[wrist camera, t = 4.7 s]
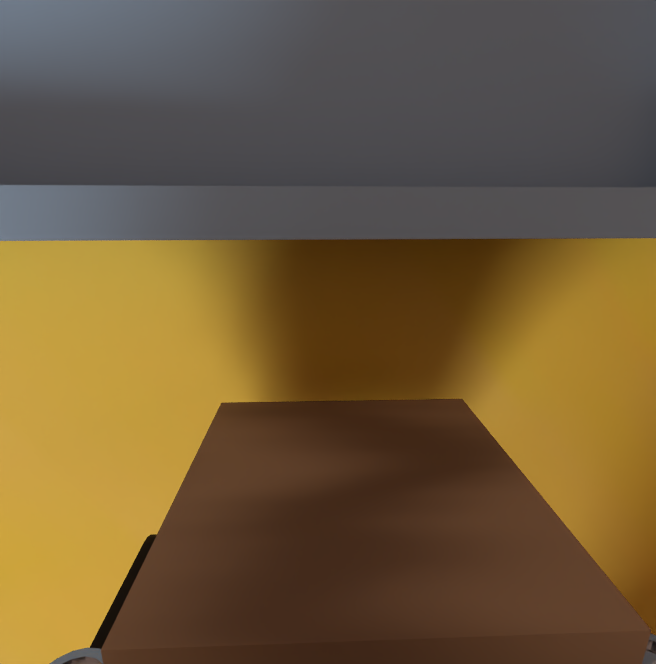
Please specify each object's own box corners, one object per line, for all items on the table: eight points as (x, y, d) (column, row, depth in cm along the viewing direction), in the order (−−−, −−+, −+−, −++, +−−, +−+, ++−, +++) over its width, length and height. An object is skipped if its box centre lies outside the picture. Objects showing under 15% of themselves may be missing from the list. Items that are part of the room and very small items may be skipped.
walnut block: (462, 398, 10) (651, 629, 5) (444, 588, 12) (566, 935, 6) (221, 402, 10) (100, 649, 4) (236, 594, 12) (162, 960, 6)
